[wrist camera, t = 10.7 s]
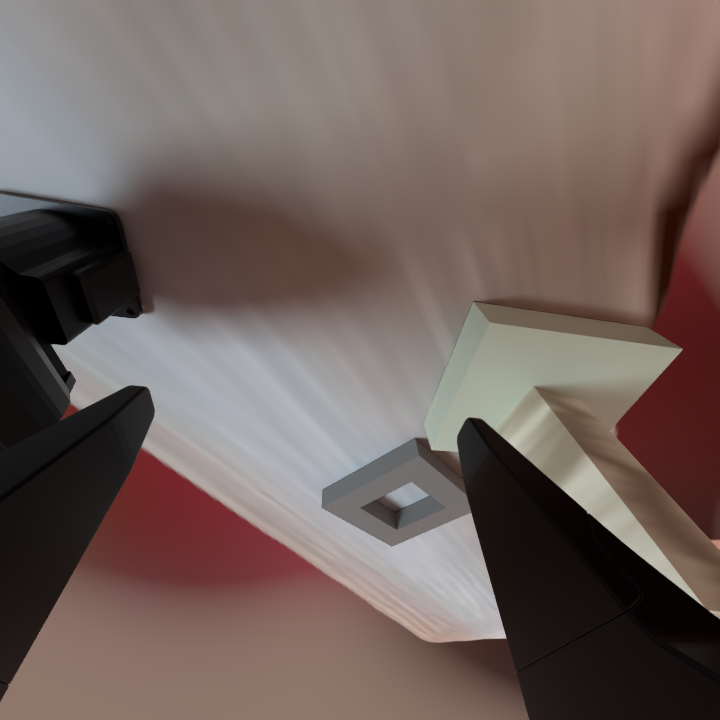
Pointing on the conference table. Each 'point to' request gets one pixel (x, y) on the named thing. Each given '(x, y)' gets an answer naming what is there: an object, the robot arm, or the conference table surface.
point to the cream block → (614, 489)
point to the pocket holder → (388, 474)
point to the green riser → (542, 367)
